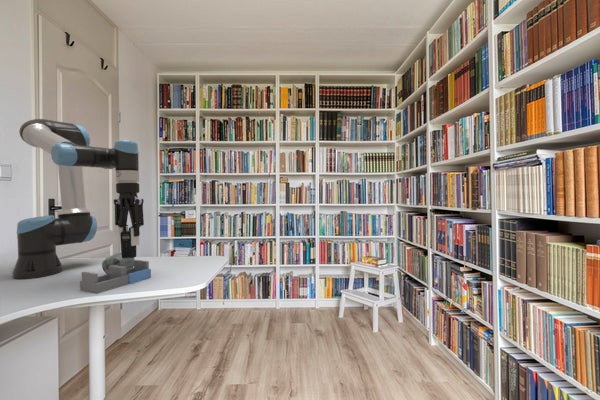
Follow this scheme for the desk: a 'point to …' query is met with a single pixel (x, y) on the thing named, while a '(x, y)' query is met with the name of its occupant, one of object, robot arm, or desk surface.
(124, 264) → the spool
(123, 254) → the two-way radio
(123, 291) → the desk surface
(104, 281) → the blue-ended grey tray
